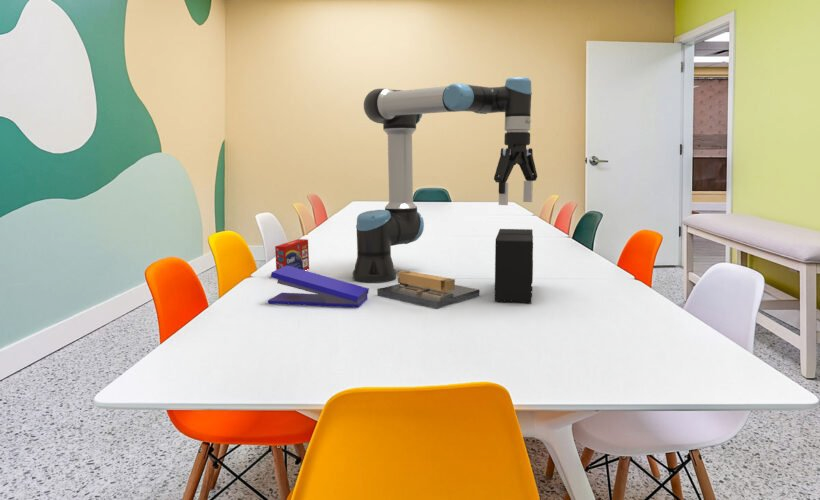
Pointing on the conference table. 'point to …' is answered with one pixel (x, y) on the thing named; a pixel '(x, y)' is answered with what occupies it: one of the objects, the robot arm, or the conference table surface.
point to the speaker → (514, 265)
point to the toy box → (293, 254)
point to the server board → (428, 295)
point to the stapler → (317, 289)
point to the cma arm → (426, 280)
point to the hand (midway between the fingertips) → (515, 203)
